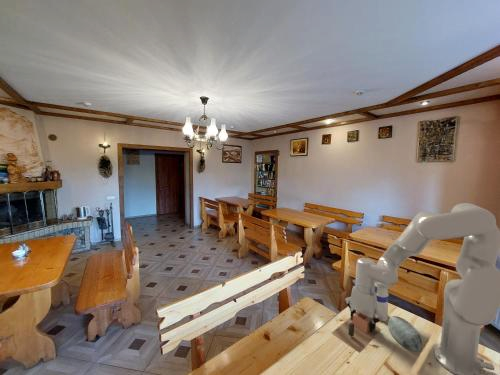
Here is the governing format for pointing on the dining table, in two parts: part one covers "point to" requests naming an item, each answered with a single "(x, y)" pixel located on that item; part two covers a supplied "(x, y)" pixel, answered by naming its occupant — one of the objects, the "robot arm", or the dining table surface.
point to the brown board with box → (354, 335)
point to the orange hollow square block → (361, 322)
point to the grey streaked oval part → (404, 333)
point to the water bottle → (382, 299)
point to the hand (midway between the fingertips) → (362, 324)
